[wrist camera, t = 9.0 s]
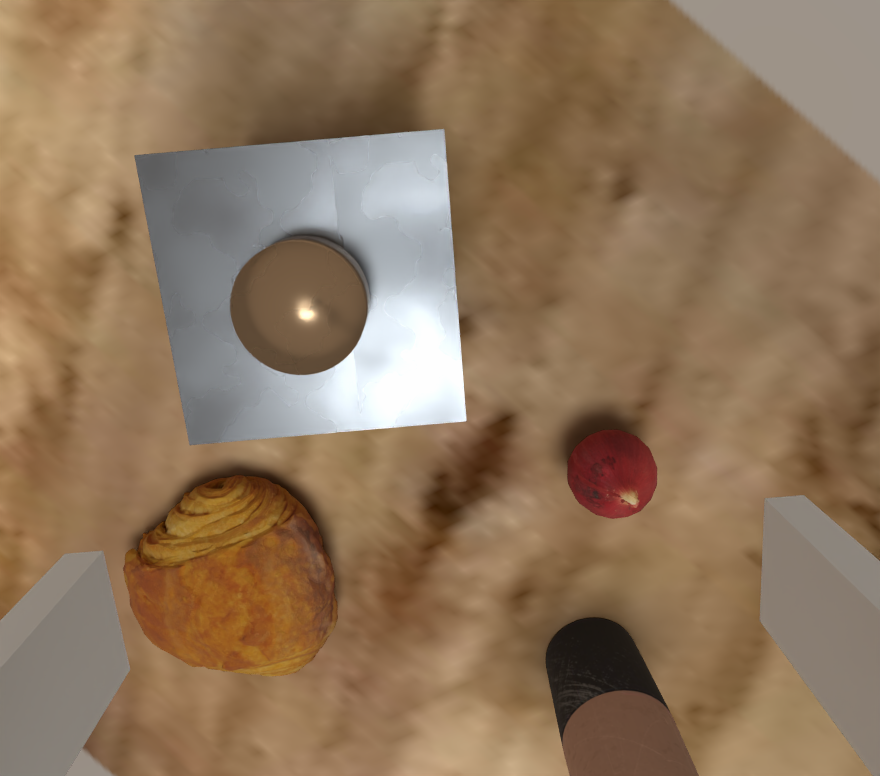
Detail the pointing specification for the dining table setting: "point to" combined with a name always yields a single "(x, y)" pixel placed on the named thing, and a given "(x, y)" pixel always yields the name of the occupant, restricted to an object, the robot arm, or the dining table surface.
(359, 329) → the plunger
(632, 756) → the travel mug
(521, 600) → the dining table surface
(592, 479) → the onion
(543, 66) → the dining table surface
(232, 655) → the croissant
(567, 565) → the dining table surface
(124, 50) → the dining table surface
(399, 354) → the grey peg holder block
